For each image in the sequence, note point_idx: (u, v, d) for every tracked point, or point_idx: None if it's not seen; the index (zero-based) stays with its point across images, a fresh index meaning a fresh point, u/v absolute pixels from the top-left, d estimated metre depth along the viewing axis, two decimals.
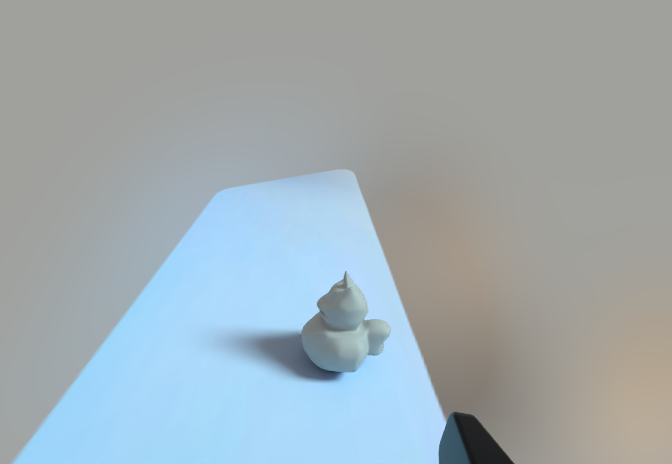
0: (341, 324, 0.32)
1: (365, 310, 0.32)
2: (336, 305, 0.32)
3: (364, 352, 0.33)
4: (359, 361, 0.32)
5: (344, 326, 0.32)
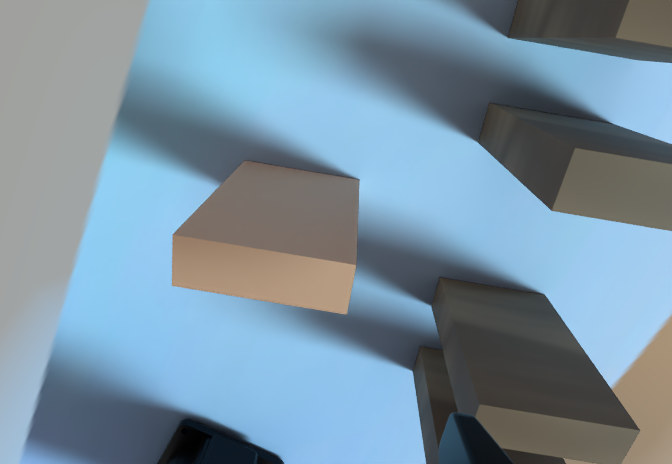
0: None
1: None
2: None
3: None
4: None
5: None
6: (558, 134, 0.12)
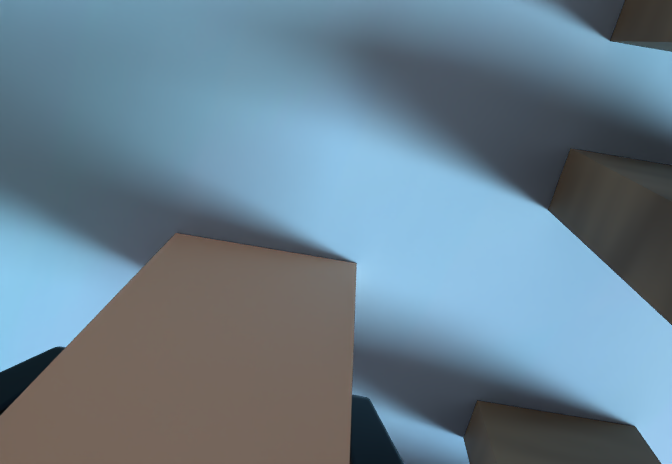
0: None
1: None
2: None
3: None
4: None
5: None
6: None
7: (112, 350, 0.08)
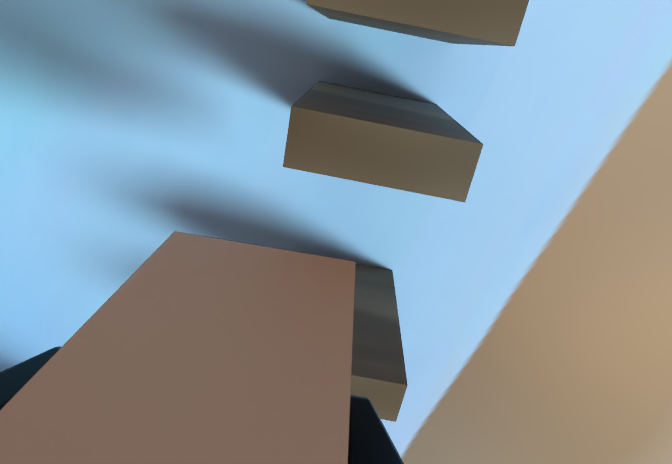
0: None
1: None
2: None
3: None
4: None
5: None
6: (313, 100, 0.13)
7: (110, 348, 0.08)
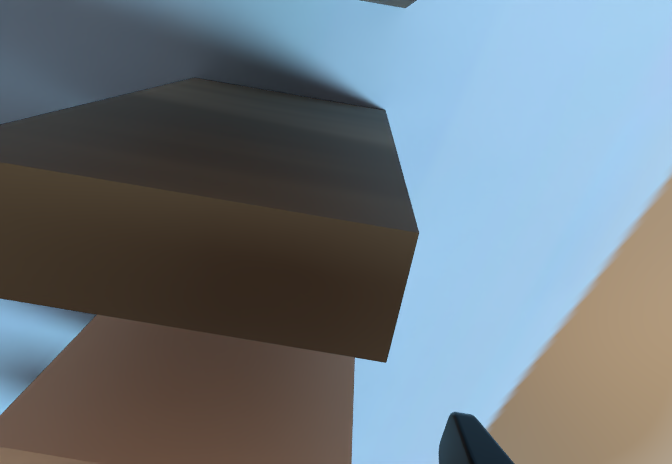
0: None
1: None
2: None
3: None
4: None
5: None
6: (69, 119, 0.06)
7: None
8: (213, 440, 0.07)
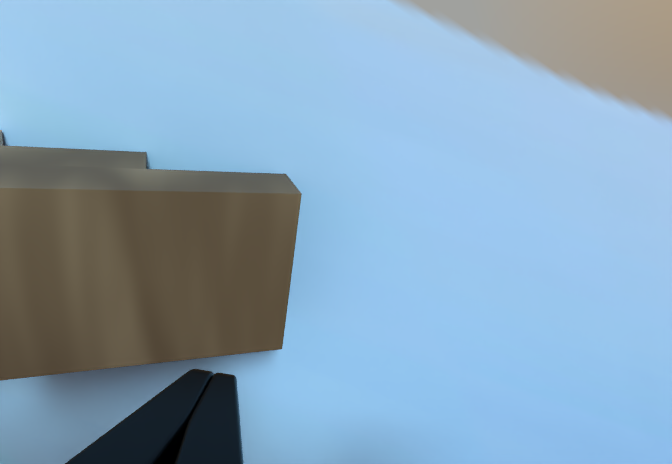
0: None
1: None
2: None
3: None
4: None
5: None
6: None
7: None
8: None
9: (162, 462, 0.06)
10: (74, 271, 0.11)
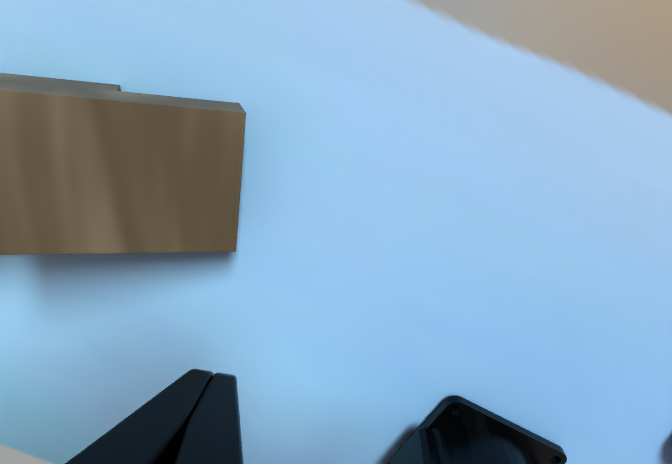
0: None
1: None
2: None
3: None
4: None
5: None
6: None
7: None
8: None
9: (162, 462, 0.06)
10: (61, 165, 0.13)
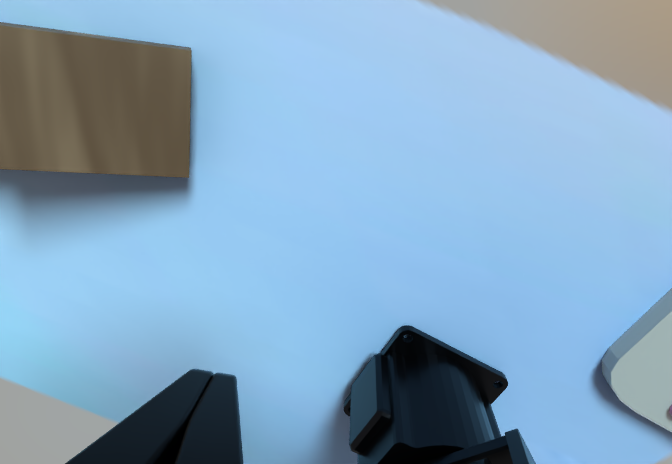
0: None
1: None
2: None
3: None
4: None
5: None
6: None
7: None
8: None
9: (162, 462, 0.06)
10: (34, 90, 0.16)
